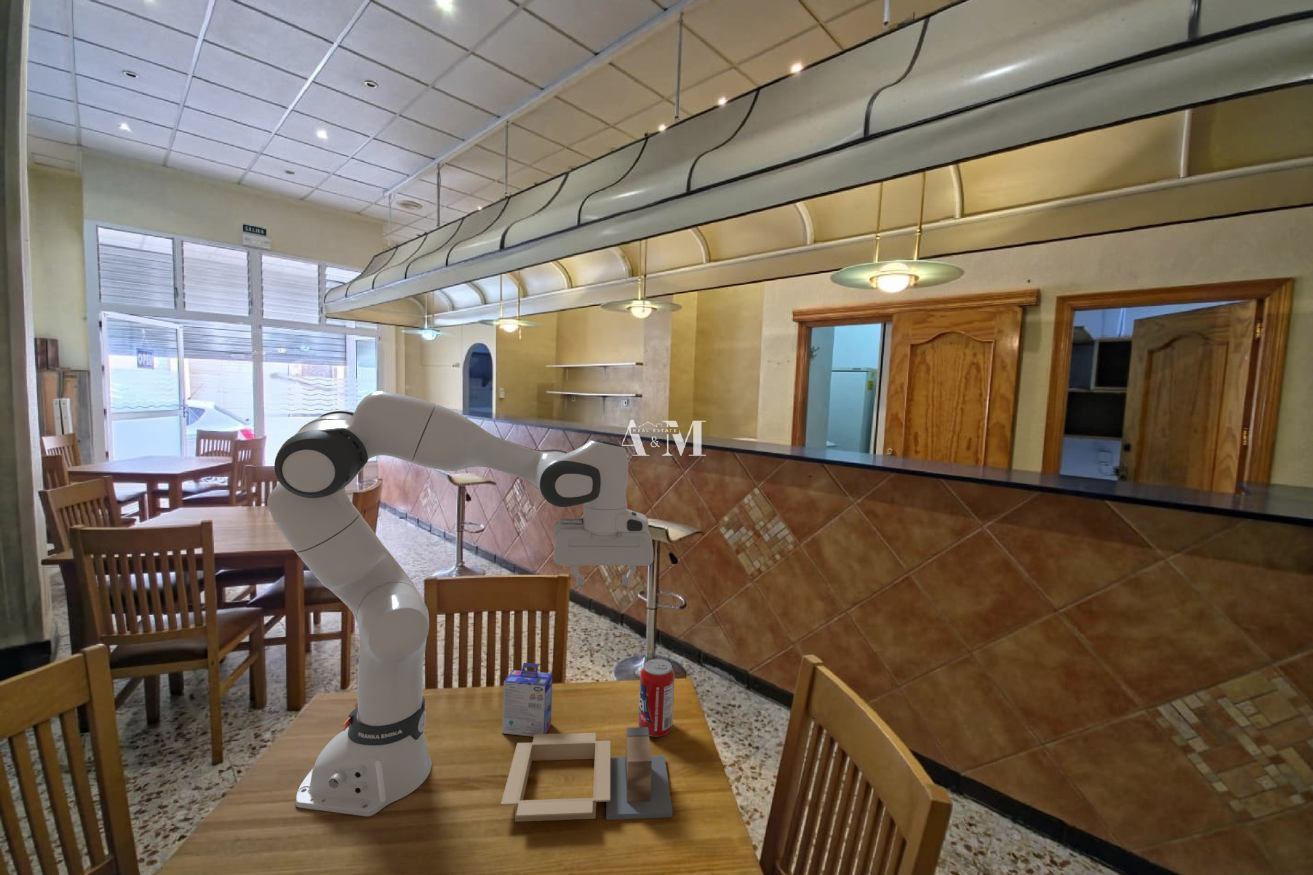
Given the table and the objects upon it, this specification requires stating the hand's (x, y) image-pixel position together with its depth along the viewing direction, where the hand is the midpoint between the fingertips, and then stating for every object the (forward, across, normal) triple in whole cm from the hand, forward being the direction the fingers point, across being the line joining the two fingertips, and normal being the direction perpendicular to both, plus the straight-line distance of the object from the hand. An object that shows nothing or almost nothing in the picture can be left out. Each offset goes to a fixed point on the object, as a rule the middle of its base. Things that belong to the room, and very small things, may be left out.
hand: (603, 585), depth 100 cm
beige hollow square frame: (+37, -7, -8) cm, 39 cm away
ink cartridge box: (+37, -16, +9) cm, 42 cm away
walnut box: (+36, +8, -9) cm, 38 cm away
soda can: (+37, +13, +8) cm, 40 cm away
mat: (+37, +8, -9) cm, 39 cm away
